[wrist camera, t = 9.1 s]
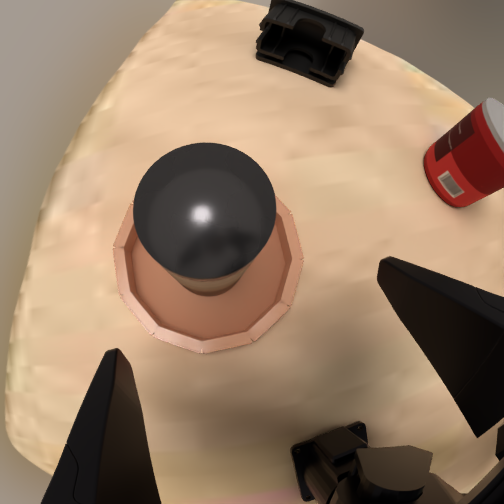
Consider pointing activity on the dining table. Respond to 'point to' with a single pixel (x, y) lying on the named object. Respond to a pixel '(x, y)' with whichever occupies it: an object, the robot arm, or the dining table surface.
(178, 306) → the terracotta dish
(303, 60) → the end cap
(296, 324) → the dining table surface
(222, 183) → the pepper mill
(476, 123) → the canned food
